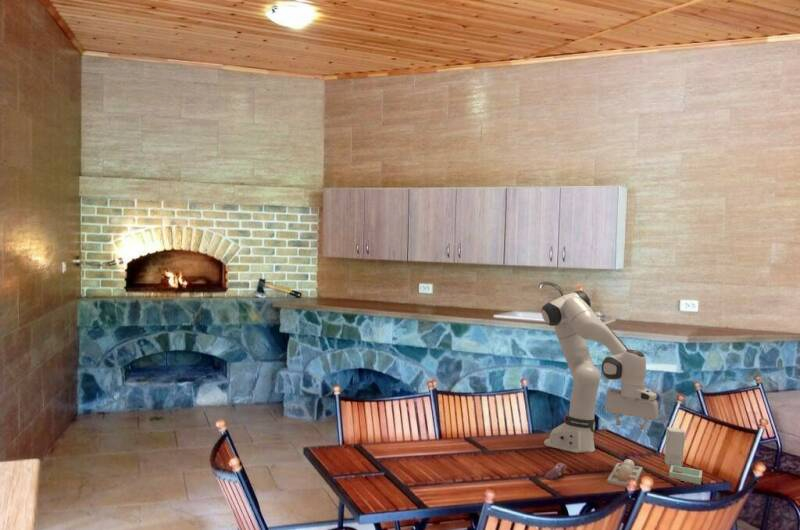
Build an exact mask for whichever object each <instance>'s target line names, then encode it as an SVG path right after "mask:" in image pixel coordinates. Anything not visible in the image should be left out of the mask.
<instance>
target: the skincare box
mask: <svg viewBox="0 0 800 530" xmlns="http://www.w3.org/2000/svg"><path fill="white" fill-rule="evenodd" d="M665 432H666V433H665V434H666V435H665V446H664V447H665V449H664V462H663V463H664V464H665V465H666V466H667V467H671V465H674V466H680V467H683V461H684V450H685V449H684V447H685V444H684V443H685V434H686V433H685V432H686V431H684V430H683V429H682V428H680V427H670V426H669V427H668V426H667V427H666V431H665Z"/></svg>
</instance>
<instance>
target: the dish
mask: <svg viewBox="0 0 800 530" xmlns="http://www.w3.org/2000/svg"><path fill="white" fill-rule="evenodd" d="M668 477H669V478H672V479H678V480H680V481H684V482H683V483H685V482H689V483H688V484H690V483H694V484H693V485H695V484H699V485H698V486H701V484H702V477H703V470H701V469H695V468H691V467H686V466H685V467H683V466H682V467H680V466H674V465H671V466H670V469H669V473H668ZM680 481H679V482H680Z"/></svg>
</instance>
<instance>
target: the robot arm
mask: <svg viewBox="0 0 800 530" xmlns="http://www.w3.org/2000/svg"><path fill="white" fill-rule="evenodd" d="M541 316H542V319H543V321H544V322H545V323H546V324H547V325H548V326H550V327H554V331H555V335H556V338H557V339H558V342H559V345H560V347H561V350H562V352H563V355H564V357H565V358H564V359H565V360H566V364H567V366H568V369H569V372H570V374H571V376H572V379H573V383H572V391H571V395H570V400H569V401H570V402H569V411H568V413H566V414H565V415H564V418H563V423H561V424H559V425H558V426H556V427H554V428H553V429H552V430H551V432H550V435H549V438H546V439H545V440H544V441H543V445H544V446H545V447H546V446H547V447H549V448H555V449H559V450H562V451H567V452H571V453H578V454H579V453H587V452H590V453H593V452H595V451H596V449H595V441H594V440H595V439H594V432H595V429H596V428H595V427H596V419H595V414H596V413H595V412H596V402H597V397H598V392H599V385H600V378H601V373H602V375H603V376H604V377H605V378H606V379H607V380H612V381H618V380H619V381H621V384H620V385H621V386H620V389H615V388H610V389H608V390H607V391H606V392H605V396H606V400H605V407H604V410H605V412H607V413H612V414H613V417H614V419H615V425H616V426H622V420H621V419H619V415H623V416H629V417H635V418H640V419H641V418H642V420H643V423H641V424H640V425H639V429H640V430H643V431H644V430H646V425H647V424H648V422H649V420H652V421H655V420H657V419H658V418H659V412H660V410H659V403H658V400H656V399H657V397H658V394H657V393H656V392H654V391H651V390H649V389H647V388H645V387H646V384H645V378H646V373H647V361H646V356H645V354H644V353H643V352H642V351H639V350H636V349H629V348H628V347H627V346H626V345H625V343H624V342H623V341H622V340H621V339H620V338H619V337H618V336H617V335H616V333H615V332H614V331H613V330H612V329H611V328H610V327H609V326H607V325H606V324H605V323H603V322H604V321H602V320H601V319H600V318H599V317H598V316H597V314H596V313H595V312H594V310H593V309H592V308H591V300H590V298H589V296H588V294H587V293H586V292H585V291H583V290H575V291H573V292H571V293H567V294H564V295H562V296H560V297H557V298H555V299H554V300H551V301H550V302H547V303H545V304H544V305H542V308H541ZM586 340H588V341H591V342H596V343H598V344H600V345H603V347H604V346H605V348H607V350H608V351H610V353H611V354H612V355H610V356H606V357H604V359H603V361H602V363H601V373H600V372H599V369H598V368H597V367H596V366H595V364H594V362H593V358H592V356H591V355H592V354H591V353H590V349H589V346H588V344H587V341H586Z"/></svg>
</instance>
